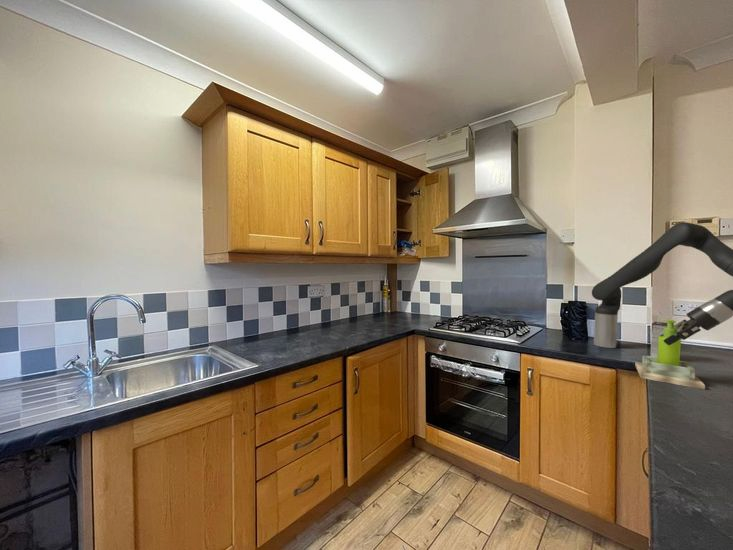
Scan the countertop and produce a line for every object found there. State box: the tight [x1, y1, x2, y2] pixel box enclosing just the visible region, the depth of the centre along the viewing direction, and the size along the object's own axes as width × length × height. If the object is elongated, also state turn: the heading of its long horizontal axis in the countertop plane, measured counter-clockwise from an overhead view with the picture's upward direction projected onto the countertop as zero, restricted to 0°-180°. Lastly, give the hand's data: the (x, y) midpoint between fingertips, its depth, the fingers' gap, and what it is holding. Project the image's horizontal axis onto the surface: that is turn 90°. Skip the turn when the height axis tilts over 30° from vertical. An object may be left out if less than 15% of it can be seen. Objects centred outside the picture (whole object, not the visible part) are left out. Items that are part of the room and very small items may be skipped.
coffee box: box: [650, 321, 667, 357], centre depth 136 cm, size 9×6×16 cm
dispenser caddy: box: [634, 355, 706, 390], centre depth 112 cm, size 16×18×6 cm
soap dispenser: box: [657, 318, 682, 366], centre depth 112 cm, size 6×7×20 cm
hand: (663, 340), depth 112 cm, fingers open, 8 cm apart
